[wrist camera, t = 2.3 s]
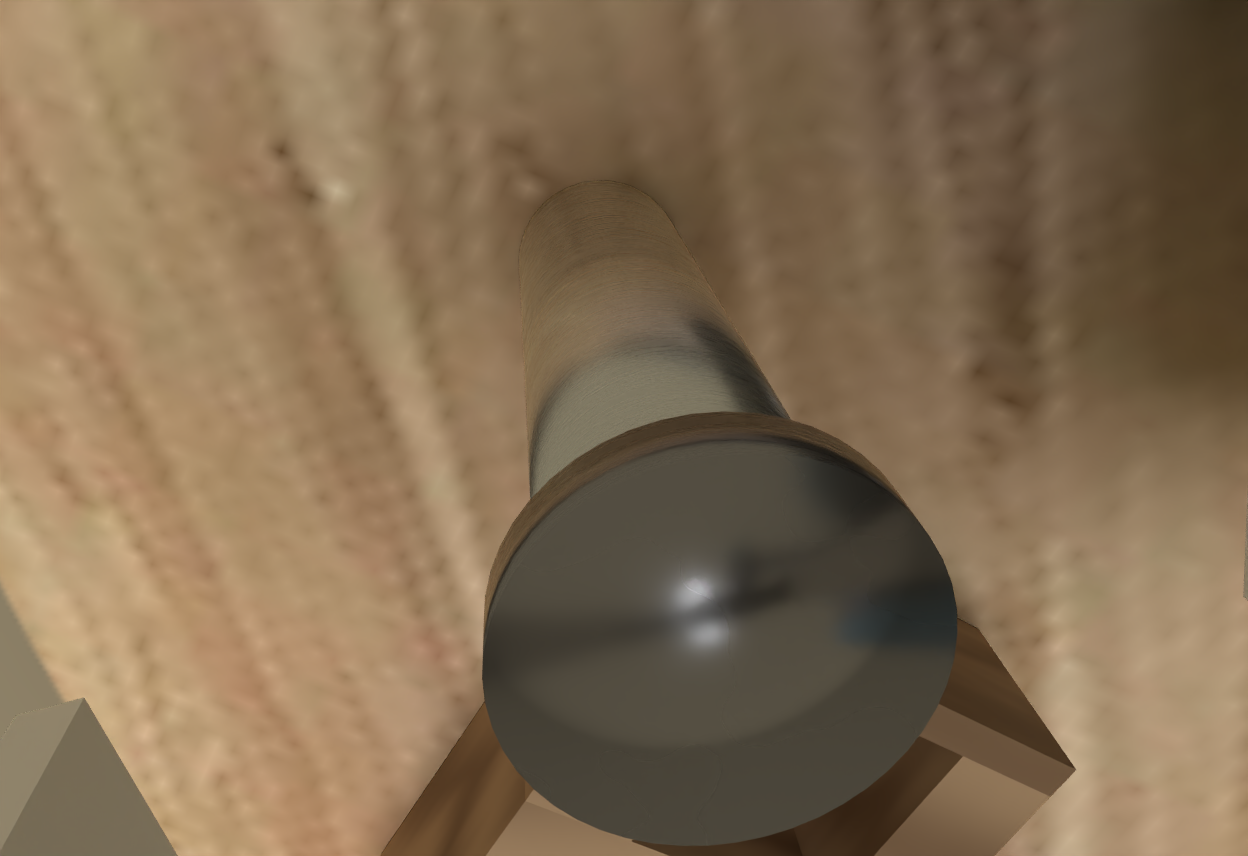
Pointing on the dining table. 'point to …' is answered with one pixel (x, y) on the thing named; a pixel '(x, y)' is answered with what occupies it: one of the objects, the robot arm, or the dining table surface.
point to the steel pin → (692, 560)
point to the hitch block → (814, 851)
